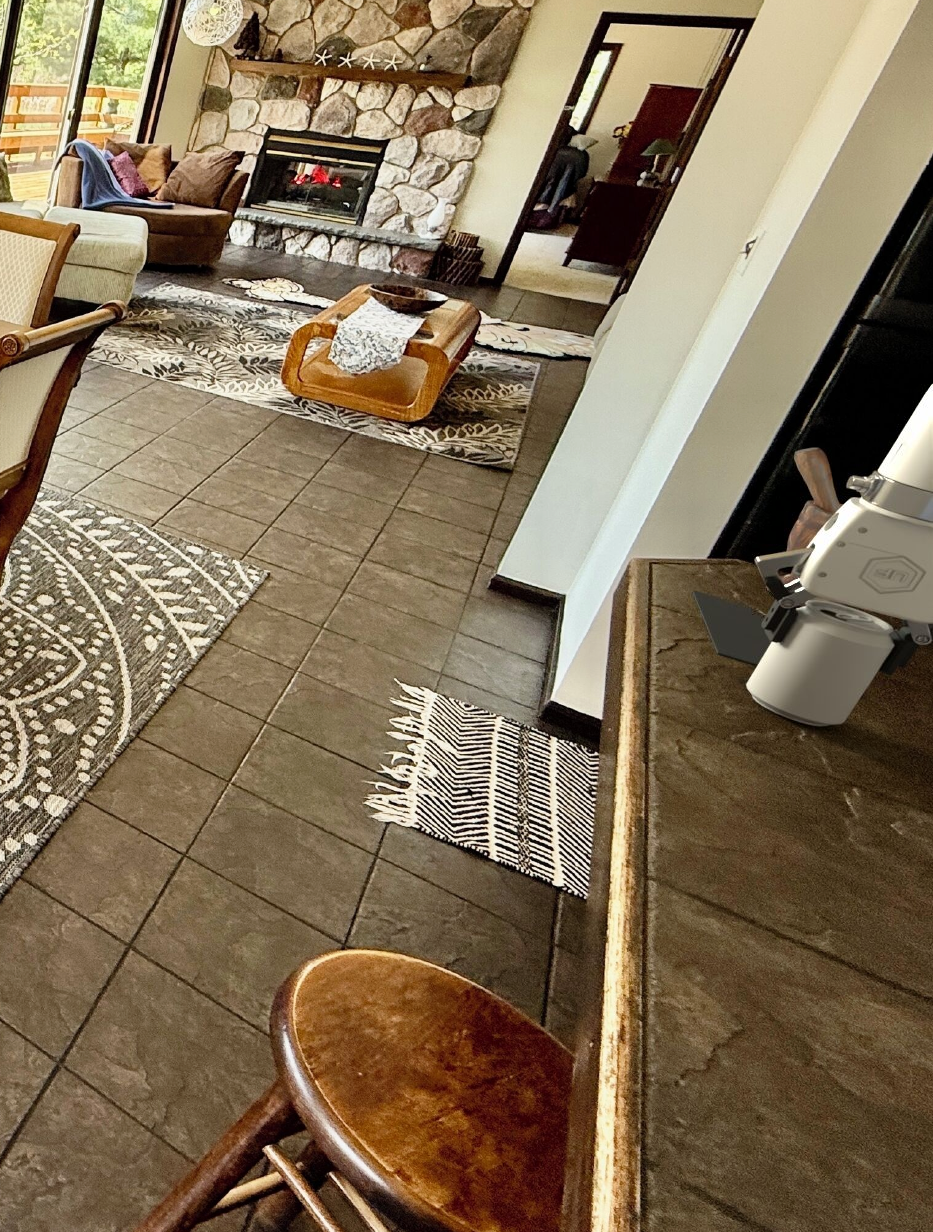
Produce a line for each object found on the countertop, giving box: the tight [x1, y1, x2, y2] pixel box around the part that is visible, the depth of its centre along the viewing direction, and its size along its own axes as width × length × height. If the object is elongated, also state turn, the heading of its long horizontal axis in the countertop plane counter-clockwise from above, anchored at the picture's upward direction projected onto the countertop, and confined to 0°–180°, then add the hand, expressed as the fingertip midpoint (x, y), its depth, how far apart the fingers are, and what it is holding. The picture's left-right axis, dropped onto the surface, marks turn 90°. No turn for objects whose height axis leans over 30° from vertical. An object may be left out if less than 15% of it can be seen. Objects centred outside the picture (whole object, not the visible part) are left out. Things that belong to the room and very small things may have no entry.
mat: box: [691, 589, 863, 698], centre depth 113 cm, size 12×20×1 cm, turn 142°
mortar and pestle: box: [765, 447, 846, 608], centre depth 121 cm, size 12×9×20 cm
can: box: [745, 600, 895, 727], centre depth 97 cm, size 8×8×12 cm
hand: (825, 651), depth 96 cm, fingers closed on can, 7 cm apart
